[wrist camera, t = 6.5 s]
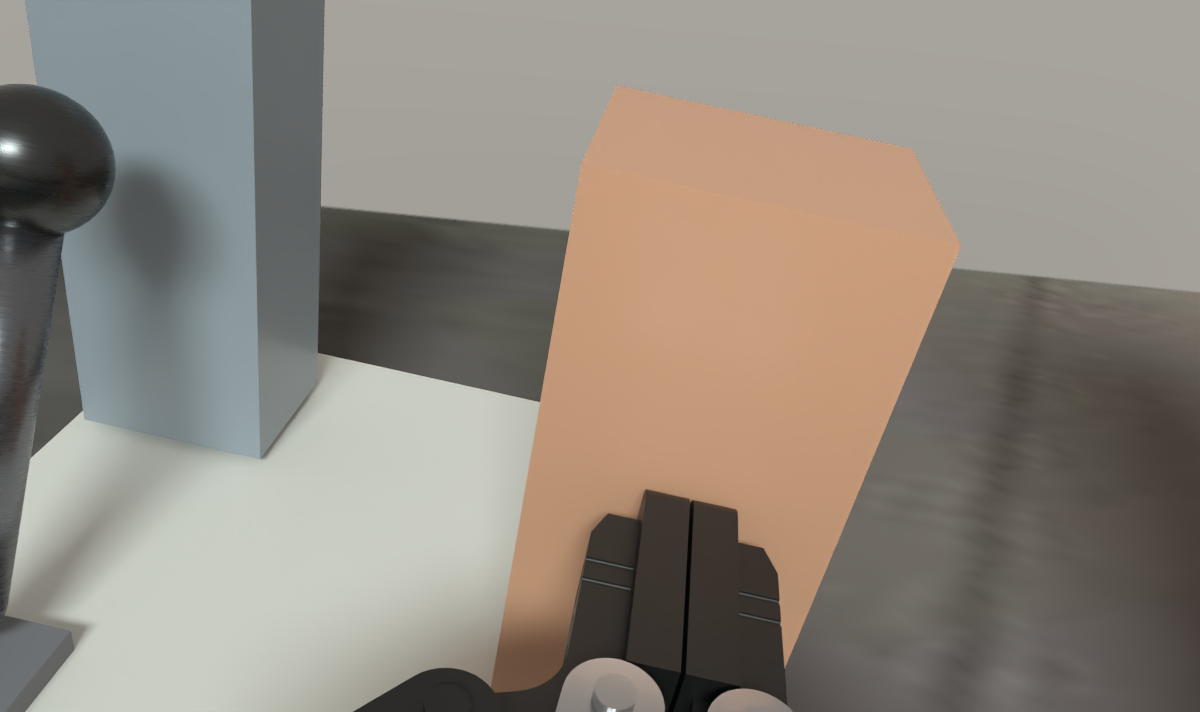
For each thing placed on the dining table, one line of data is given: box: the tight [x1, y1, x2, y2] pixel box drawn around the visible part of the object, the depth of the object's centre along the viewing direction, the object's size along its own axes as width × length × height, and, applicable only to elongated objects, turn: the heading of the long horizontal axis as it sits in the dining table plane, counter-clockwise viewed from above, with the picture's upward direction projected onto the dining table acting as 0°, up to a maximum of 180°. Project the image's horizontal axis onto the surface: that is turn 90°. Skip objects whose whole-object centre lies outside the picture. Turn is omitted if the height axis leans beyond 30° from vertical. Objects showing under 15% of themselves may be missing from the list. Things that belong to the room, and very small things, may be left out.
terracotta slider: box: [491, 86, 961, 693], centre depth 17 cm, size 4×5×13 cm
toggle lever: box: [0, 84, 116, 622], centre depth 18 cm, size 3×3×11 cm
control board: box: [0, 353, 540, 712], centre depth 24 cm, size 18×20×4 cm
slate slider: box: [25, 0, 325, 459], centre depth 24 cm, size 4×5×13 cm
